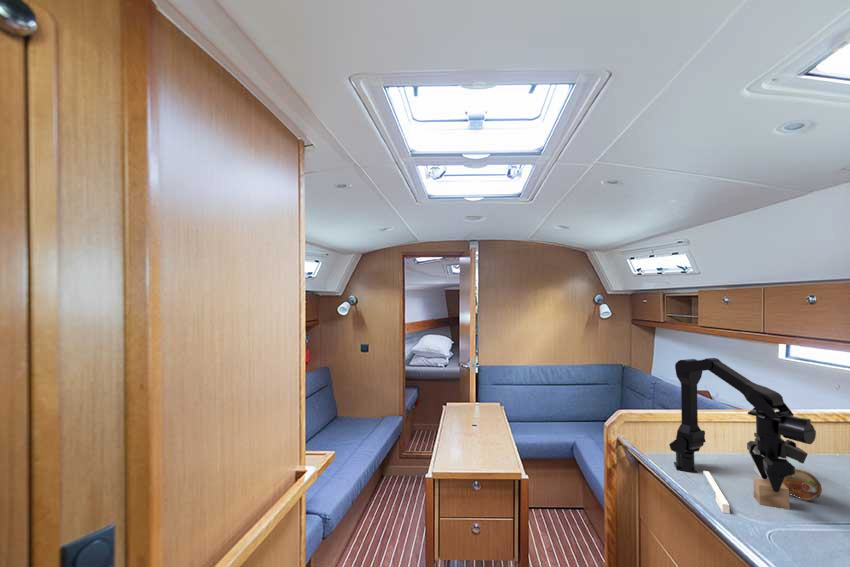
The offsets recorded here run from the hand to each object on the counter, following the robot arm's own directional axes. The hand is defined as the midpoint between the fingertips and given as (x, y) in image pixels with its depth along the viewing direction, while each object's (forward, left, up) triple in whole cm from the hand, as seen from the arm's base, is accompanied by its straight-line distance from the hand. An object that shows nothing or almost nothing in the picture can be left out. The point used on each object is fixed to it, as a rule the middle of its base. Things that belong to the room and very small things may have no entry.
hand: (770, 485), depth 121 cm
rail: (0, -14, -5) cm, 15 cm away
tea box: (0, 0, -6) cm, 6 cm away
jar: (-23, +7, -6) cm, 25 cm away
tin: (-10, +8, -6) cm, 14 cm away
